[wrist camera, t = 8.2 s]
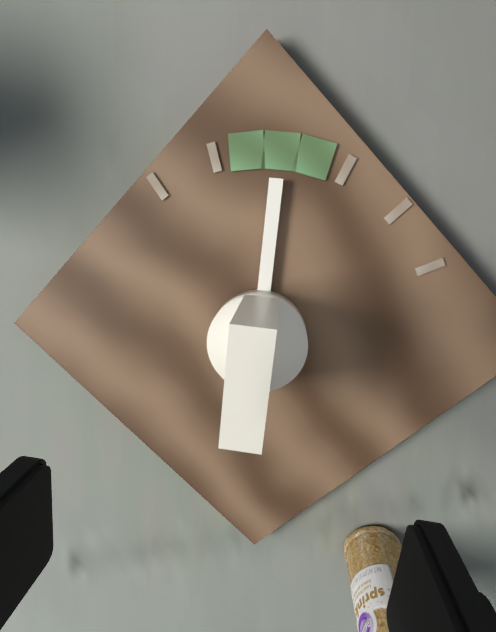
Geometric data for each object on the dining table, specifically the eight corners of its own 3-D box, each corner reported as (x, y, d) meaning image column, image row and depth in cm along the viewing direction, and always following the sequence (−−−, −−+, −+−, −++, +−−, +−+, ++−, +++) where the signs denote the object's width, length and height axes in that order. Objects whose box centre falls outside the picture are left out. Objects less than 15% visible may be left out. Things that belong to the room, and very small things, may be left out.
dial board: (255, 528, 30) (254, 546, 29) (28, 317, 27) (12, 323, 26) (523, 338, 24) (540, 347, 23) (268, 41, 21) (266, 27, 20)
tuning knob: (299, 384, 25) (305, 461, 17) (209, 372, 25) (175, 442, 17) (329, 183, 21) (353, 166, 14) (224, 173, 22) (190, 151, 14)
